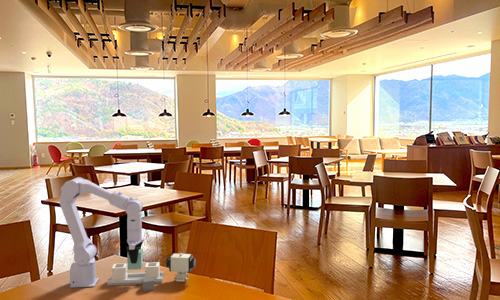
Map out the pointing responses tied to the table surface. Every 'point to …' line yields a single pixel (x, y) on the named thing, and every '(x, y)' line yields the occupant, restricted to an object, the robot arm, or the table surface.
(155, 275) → the board
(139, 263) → the block
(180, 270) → the pneumatic valve
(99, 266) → the table surface
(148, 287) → the dark loose block
